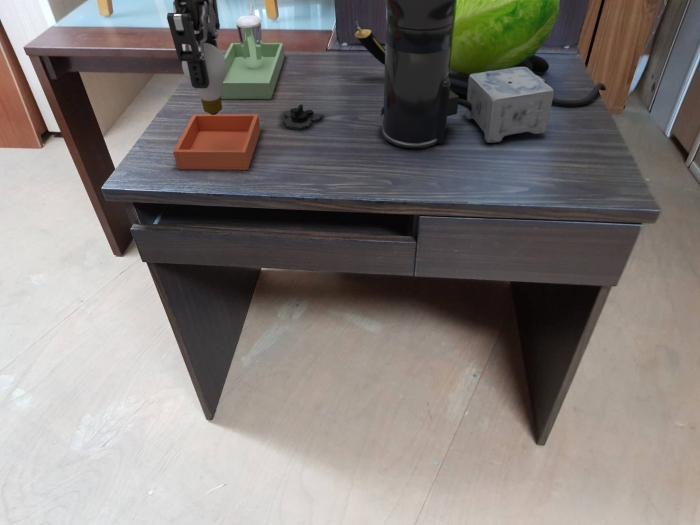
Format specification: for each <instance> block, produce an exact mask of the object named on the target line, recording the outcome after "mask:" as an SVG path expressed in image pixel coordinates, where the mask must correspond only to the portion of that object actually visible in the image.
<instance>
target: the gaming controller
mask: <svg viewBox="0 0 700 525" xmlns="http://www.w3.org/2000/svg"><path fill="white" fill-rule="evenodd" d="M515 67H527V68H528V69H529V70H530V71H532V72H533V73H534V74H535V75H537V76H539V77H541V78H543V77H542V76H541V75H540V74H545V73H546V72H547V71H548V70H549V68H550V64H549V62H547V60H546V59H545V58H543V57H541V56H539V55H536V54H534V55H533V56H531V57H529V58H528V59H526V60H524V61H523V62H521V63H519V64H518V65H516V66H515ZM513 68H514V67H513ZM538 73H540V74H538ZM544 83H546V84H548V82H547V81H546V80H545V82H544ZM548 85H549V84H548Z"/></svg>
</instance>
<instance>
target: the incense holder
mask: <svg viewBox="0 0 700 525" xmlns="http://www.w3.org/2000/svg"><path fill="white" fill-rule="evenodd" d="M541 77H542V76H541ZM541 77H539V76H537V75H535V74H534V73H533V72H532V71H530V70H529V69H528V68H527V67H514V68H508V69H503V70H496V71H488V72H482V73H476V74H471V75H468V78H467V79H468V93H467V95H466V101H468V102H469V103H471V105H472V110H471V112H470V111H469V109H468V108H466V114H465V117H466V119H467V120H474V121H475V123H476V124H477V125H478V127H479V128H480V129H481V130H482V132H483V133H484V141H485V142H486V143H493V144H494V143H500V142H501V141H502V140H503V138H504V137H506V136H511V135H516V134H523V133H531V134H534V135H538V134H543V133H546V132H547V130H548V126H549V119H550V115H551V108H552V105H553V104H552V100H553V98H554V94H555V91H554V88H553V87H552V86H550V85H549V84H546V83H544V82H545V81H546V80H545V78H543V77H542V78H541Z"/></svg>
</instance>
